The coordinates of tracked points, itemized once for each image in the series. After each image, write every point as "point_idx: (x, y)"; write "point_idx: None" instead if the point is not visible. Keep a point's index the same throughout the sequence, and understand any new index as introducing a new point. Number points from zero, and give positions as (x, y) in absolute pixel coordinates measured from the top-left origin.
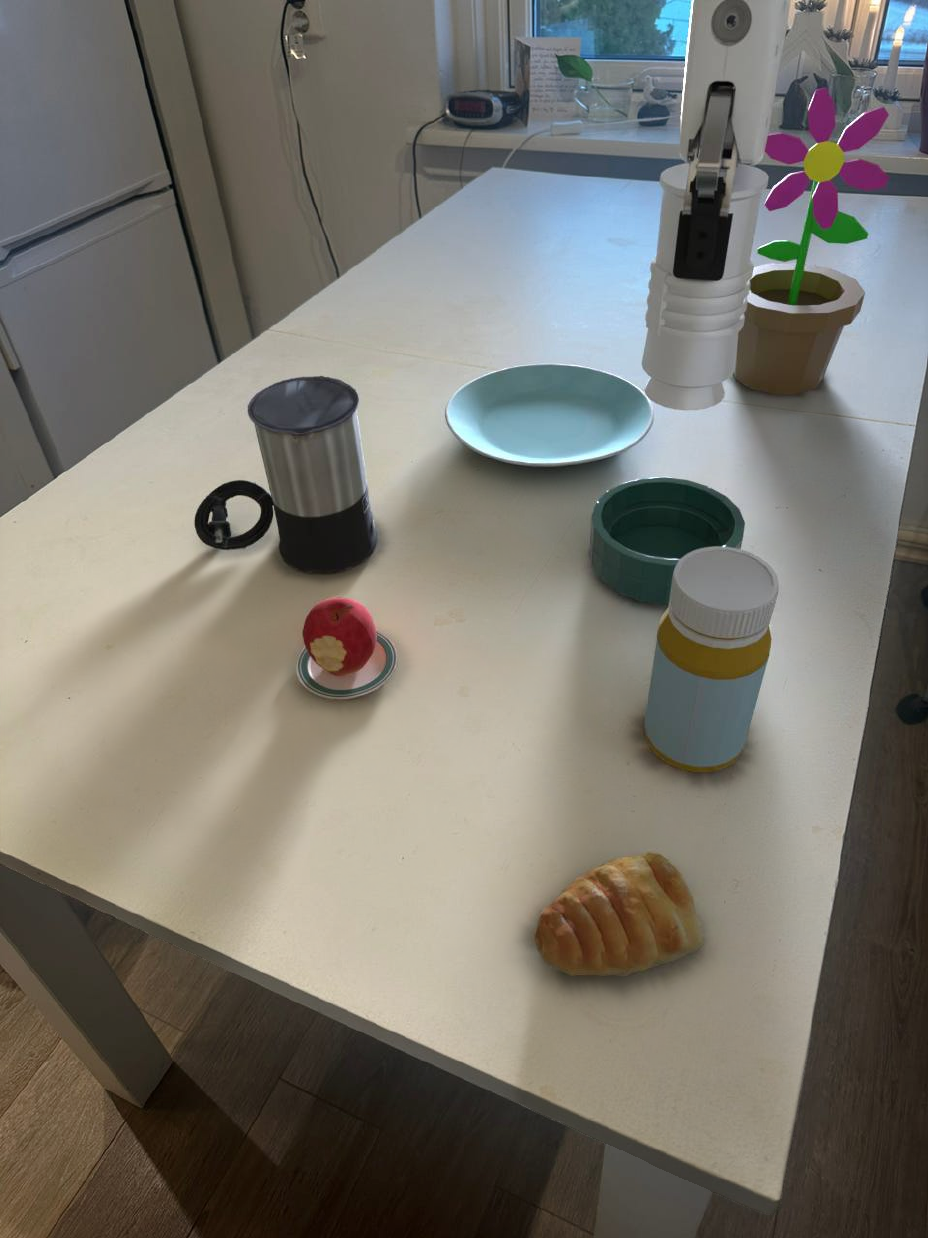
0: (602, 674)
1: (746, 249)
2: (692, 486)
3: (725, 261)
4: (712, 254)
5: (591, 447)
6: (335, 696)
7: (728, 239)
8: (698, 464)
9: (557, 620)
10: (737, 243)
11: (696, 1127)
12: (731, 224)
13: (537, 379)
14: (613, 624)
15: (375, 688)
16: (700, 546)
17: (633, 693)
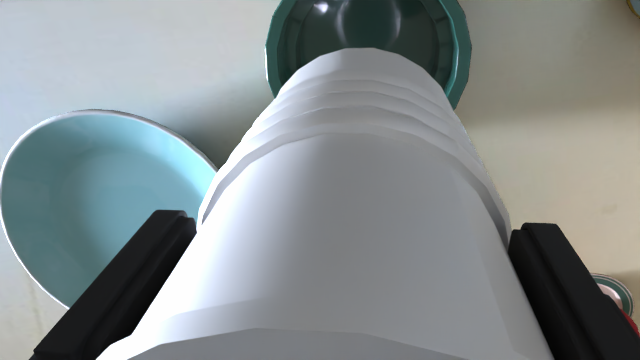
0: (574, 84)
1: (430, 185)
2: (278, 39)
3: (575, 252)
4: (626, 322)
5: (166, 171)
6: (632, 308)
7: (612, 310)
8: (133, 30)
9: (490, 145)
10: (492, 243)
11: None
12: (602, 348)
13: (49, 257)
14: (488, 86)
15: (619, 282)
16: (332, 5)
17: (603, 46)
